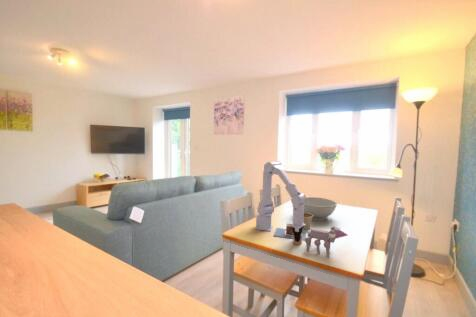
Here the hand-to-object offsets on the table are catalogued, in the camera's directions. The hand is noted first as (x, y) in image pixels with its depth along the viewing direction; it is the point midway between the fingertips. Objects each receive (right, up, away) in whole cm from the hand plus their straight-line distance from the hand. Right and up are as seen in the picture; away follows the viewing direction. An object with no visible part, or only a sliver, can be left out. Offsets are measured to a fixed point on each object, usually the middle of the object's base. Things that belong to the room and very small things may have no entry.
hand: (297, 239), depth 130 cm
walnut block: (-1, 0, +11) cm, 11 cm away
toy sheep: (+11, -3, -11) cm, 16 cm away
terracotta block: (0, -1, 0) cm, 1 cm away
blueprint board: (-2, -1, +11) cm, 11 cm away
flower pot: (+11, 0, +22) cm, 24 cm away
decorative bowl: (+25, +1, +42) cm, 49 cm away
